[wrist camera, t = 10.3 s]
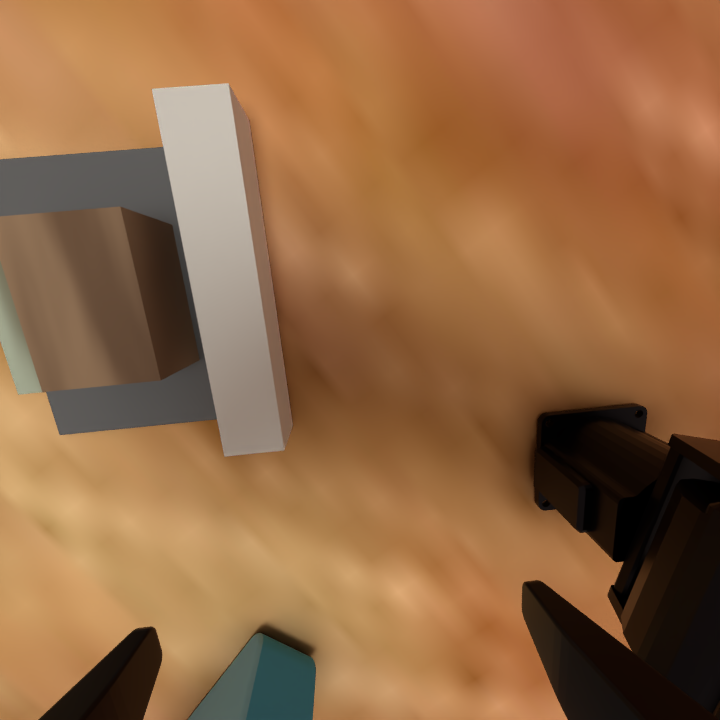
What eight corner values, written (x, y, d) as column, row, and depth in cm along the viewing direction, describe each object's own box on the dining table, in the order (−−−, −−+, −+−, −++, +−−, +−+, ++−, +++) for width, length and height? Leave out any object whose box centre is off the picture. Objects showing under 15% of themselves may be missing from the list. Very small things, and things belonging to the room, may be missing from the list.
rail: (249, 119, 16) (228, 83, 13) (292, 425, 20) (284, 450, 17) (186, 124, 16) (151, 89, 13) (242, 430, 20) (224, 456, 17)
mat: (190, 147, 16) (188, 145, 16) (239, 415, 19) (237, 417, 19) (-20, 163, 16) (-27, 161, 16) (63, 432, 19) (59, 435, 19)
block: (119, 206, 13) (-41, 219, 13) (160, 380, 14) (18, 394, 14) (172, 224, 17) (50, 235, 16) (199, 360, 18) (88, 370, 18)
